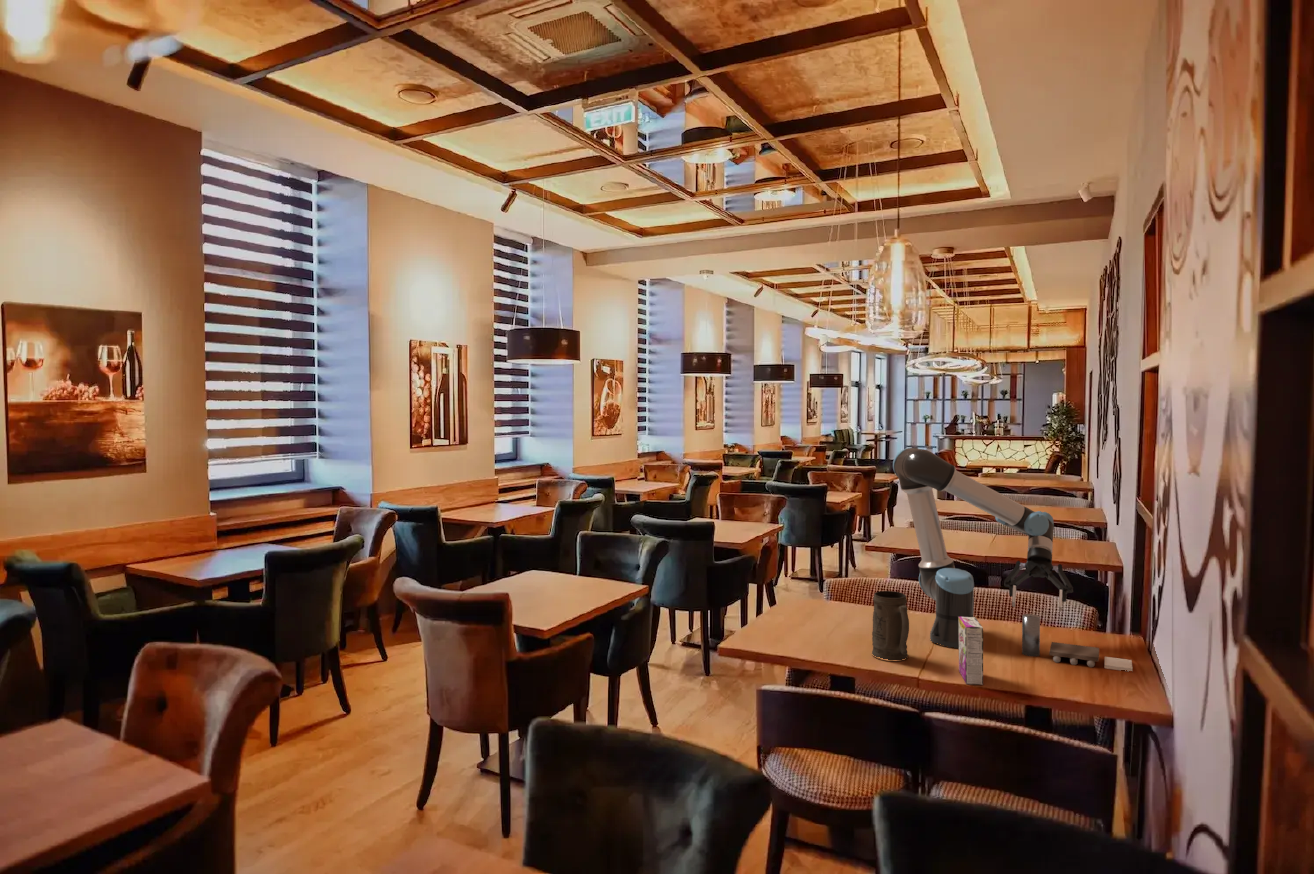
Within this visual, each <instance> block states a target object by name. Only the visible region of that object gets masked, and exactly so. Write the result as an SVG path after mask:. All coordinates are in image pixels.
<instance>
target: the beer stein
mask: <svg viewBox="0 0 1314 874" xmlns="http://www.w3.org/2000/svg"><path fill="white" fill-rule="evenodd" d="M907 600H908V599H907V595H906V594H904V593H902V592H899V591H894V590H893V591H892V590H880V591H877V592H876V591H875V592H874V595H873V612H872V632H871V633H872V634H871V635H872V638H871V640H872V651H871V655H872V654H873V655H874V656H876V657H880V658H883V659H888V660H902V659H905V658H907V657H908V658H909V655H908V644H907V642H908V639H909V632H910V620H909V614H908V605H907V602H908V601H907ZM873 655H872V656H873ZM874 656H873V657H874ZM908 658H907V659H908Z"/></svg>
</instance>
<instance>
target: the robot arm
mask: <svg viewBox="0 0 1314 874" xmlns="http://www.w3.org/2000/svg"><path fill="white" fill-rule="evenodd" d="M892 469H893V472H894V474H895V475H896V477H897V478H898V480H899V481H898V482H899V485H900V489H901V491H903V492H904V493H906V497H907V501H908V505H909V509H910V513H911V517H912V518H911V519H912V522H913V526H914V530H915V536H916V540H917V544H918V549H919V553H920V558H921V560H920V562H919V563H918V568H919V576H918V582H919V584H918V585H919V586H920V588H921V590H922V592H923V593H924V594H925V595H926V596H928V598H931V599H932V600H933V601H935V618H934V620H933V621H934V622H933V624H932V627H931V631H930V635H929V637H930V638H929V640H930V639H931V640H930V642H931V641H932V643H933V642H934V643H933V644H935V643H938V644H941V645H944V646H943V647H945V646H948V647H947V648H951V647H954V649H959V618H958V617H974V611H975V610H974V609H975V608H974V606H975V605H974V604H975V601H974V600H975V599H974V597H975V596H974V589H975V582H974V577H973V574H971V573H970V572H968V571H967V570H964V569H961V568H956V567H955V562H954V559H953V558H951V557H950V556H949V555H948V553H947V548H946V544H945V539H944V535H943V530H942V526H941V521H940V518H939V513H938V509H937V503H936V499H935V495H934V494H935V493H934V491H933V490H937V491H939V492H947V493H948V494H950V495H952V496H954V497H955V498H958V499H960V500H962V501H964V502H966V503H968V504H970V505H972V506H974V507H975V508H978V509H979V510H982V511H983V512H986V513H987V514H989V515H991V516H993V517H995V521H996V522H997V523H999V524H1001V525H1003V526H1005V527H1008V528H1010V529H1012V530H1014V531H1016V532H1019V533H1022V534H1023V535H1026V536H1027V537H1028V541H1027V553H1026V562H1024V563H1023V562H1020V560H1017V561H1016V562H1015V566H1014V568H1013V569H1012V570H1011V571H1010V572H1009V574H1008V575H1007V576H1006V578H1005V579H1004V580H1003V585H1004V587H1005V588H1008V589H1009V590H1008V595H1009V597H1011V598H1012V599H1011V605H1012V607H1013V608H1016V598H1017V587H1018V586H1019V585H1021V584H1022V583H1023V582H1024V581H1026V580H1027V579H1029V578H1031V577H1033V578H1040V579H1041V578H1042V579H1044V578H1046V579H1047V580H1049V581H1050V582H1051V583H1052V584H1053V585H1054V586H1055V587H1056V588H1057V589H1058V590H1059V594H1058V595H1059V597H1058V598H1059V599H1058V600H1059V602H1058V612H1061V613H1062V612H1063V603H1066V602H1067V594H1072V593H1074V587H1073V585H1072V583H1071V582H1070V580H1069V578H1068V577H1067V575H1066V573H1065V572H1064V570H1063V565H1062V564H1061V563H1058V564H1057V565H1053V550H1054V549H1053V548H1054V545H1053V544H1054V542H1053V541H1054V530H1055V524H1054V518H1053V516H1052V515H1051V513H1049V512H1046V511H1041V510H1040V511H1039V510H1038V511H1034V510H1032V509H1030V508H1028V507H1027V506H1025V505H1023V504H1021V503H1020V502H1017V501H1015V500H1013V499H1011V498H1009V496H1008V497H1007V496H1006V495H1003V494H1001V493H1000V492H998V491H996V490H994V489H993V488H991V487H989V486H987V485H985V484H983V483H981V482H979V481H977V480H975V479H973V478H972V477H970V476H968V475H965V474H963V473H962V472H960V471H958V470H957V468H956V466H955V465H953V464H951V463H950V462H948V461H946V460H944V459H943V458H941V457H939V456H938V455H936V453H933V452H932V451H930V450H927V449H923V448H917V447H907V448H904V449H902V450H900V451H899V452H897V454H896V455H895V456H894V458H893V461H892ZM1024 568H1025V570H1024V571H1023V572H1022V573H1021V574H1019V572H1021V571H1022V570H1023V569H1024ZM1053 571H1055V573H1057V574H1058V576H1059V577H1060V580H1061V581H1062V582H1061V581H1060V580H1059V579H1058V578H1057V577H1056V576H1055V575H1054V574H1053ZM1018 574H1019V575H1018ZM941 645H940V646H941Z"/></svg>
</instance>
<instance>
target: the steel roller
mask: <svg viewBox="0 0 1314 874" xmlns="http://www.w3.org/2000/svg"><path fill="white" fill-rule="evenodd" d="M1021 616H1022V617H1021V621H1022V622H1021V626H1022V627H1021V631H1022V632H1021V635H1022V636H1021V653H1022V655H1024V656H1027V657H1031V658H1032V657H1040V655H1041V653H1040V651H1041V645H1040V644H1041V616H1040V615H1037V614H1032V613H1024V614H1022V615H1021Z"/></svg>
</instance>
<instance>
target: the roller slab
mask: <svg viewBox="0 0 1314 874" xmlns="http://www.w3.org/2000/svg"><path fill="white" fill-rule="evenodd" d="M1050 643H1051V644H1050V647H1049V651H1048V653H1049V656H1053V657H1052V660H1053V662H1054V663H1056V664H1057V663H1060V662H1061V660H1062V658H1068V659H1069V663H1070V664H1071V665H1073V666H1076V665H1077V664H1078V660H1084V661H1086V665H1087V666H1088V667H1089V668H1094V667H1095V665H1096V662H1100V647H1097V646H1096V647H1095V646H1085V645H1080V644H1079V645H1078V644H1072V643H1064V642H1055V641H1051V642H1050Z"/></svg>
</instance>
